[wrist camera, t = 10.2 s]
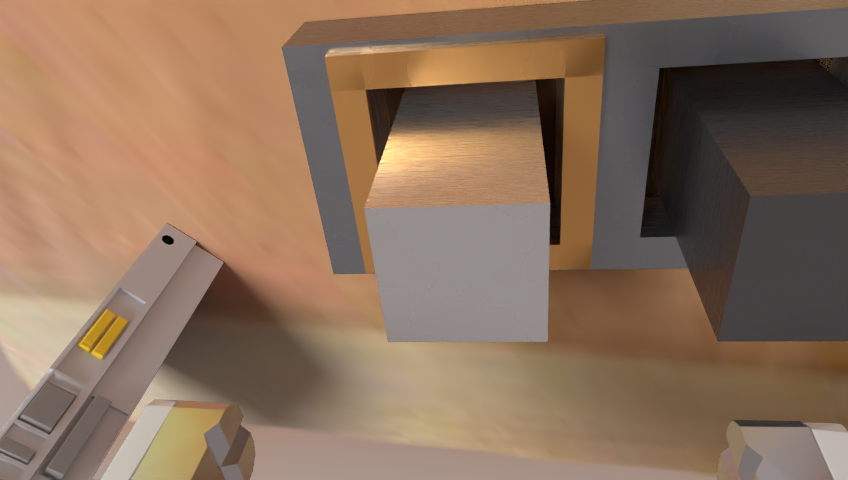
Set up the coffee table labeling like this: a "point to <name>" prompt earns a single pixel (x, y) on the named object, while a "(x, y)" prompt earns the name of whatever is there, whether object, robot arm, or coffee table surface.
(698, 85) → the dark gray block
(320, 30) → the grey block holder tray
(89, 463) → the walkman
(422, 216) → the light grey rectangular block
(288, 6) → the coffee table surface
